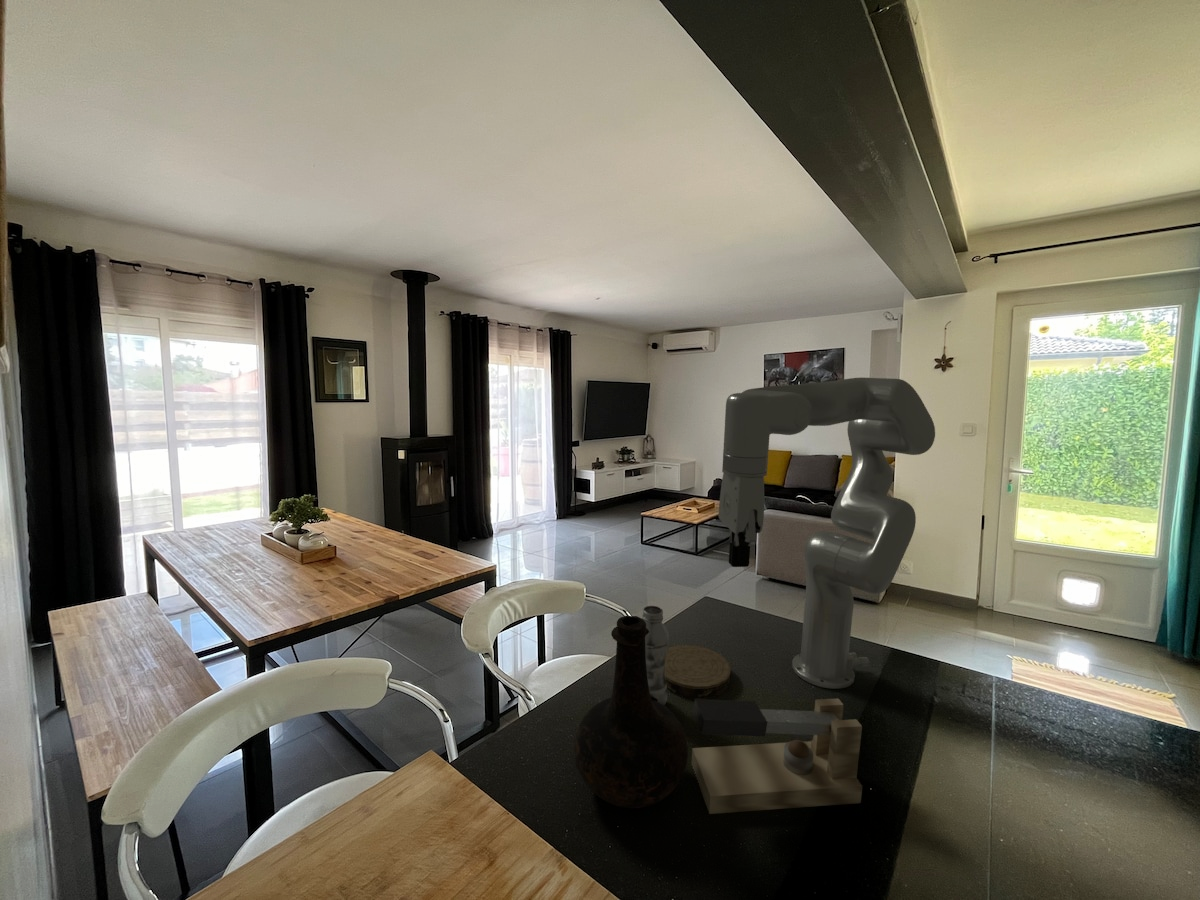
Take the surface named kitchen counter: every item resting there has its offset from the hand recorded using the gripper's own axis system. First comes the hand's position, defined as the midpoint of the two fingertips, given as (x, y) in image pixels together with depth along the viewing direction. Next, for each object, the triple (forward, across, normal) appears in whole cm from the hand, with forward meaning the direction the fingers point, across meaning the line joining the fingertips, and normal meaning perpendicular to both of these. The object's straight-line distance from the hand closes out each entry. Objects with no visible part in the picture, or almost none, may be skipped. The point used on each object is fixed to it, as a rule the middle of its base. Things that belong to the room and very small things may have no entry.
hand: (738, 564), depth 95 cm
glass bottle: (+31, +13, -21) cm, 40 cm away
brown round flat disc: (+32, -15, -3) cm, 35 cm away
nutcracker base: (+31, +15, +2) cm, 35 cm away
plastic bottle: (+31, -6, -14) cm, 35 cm away
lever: (+22, +15, 0) cm, 26 cm away
